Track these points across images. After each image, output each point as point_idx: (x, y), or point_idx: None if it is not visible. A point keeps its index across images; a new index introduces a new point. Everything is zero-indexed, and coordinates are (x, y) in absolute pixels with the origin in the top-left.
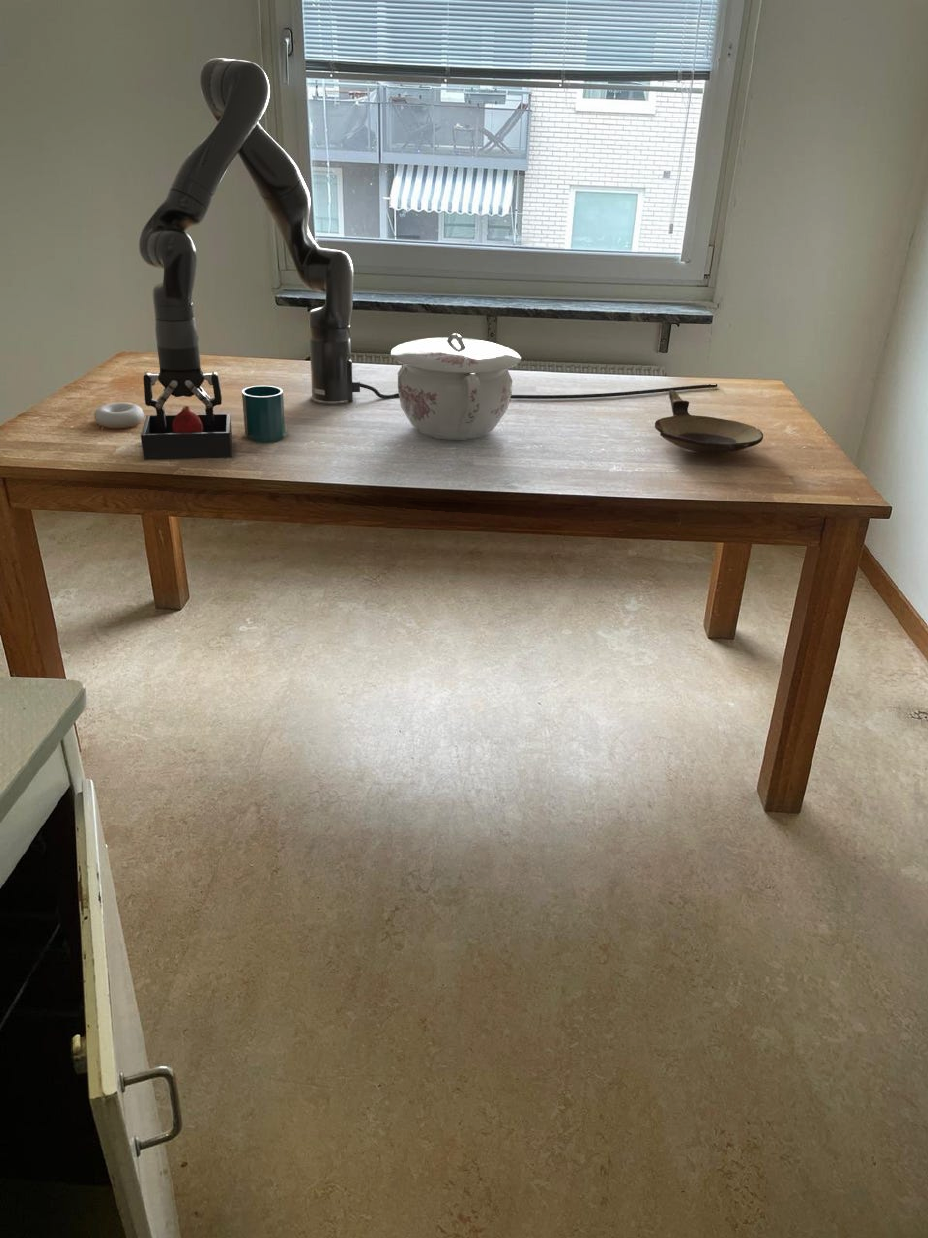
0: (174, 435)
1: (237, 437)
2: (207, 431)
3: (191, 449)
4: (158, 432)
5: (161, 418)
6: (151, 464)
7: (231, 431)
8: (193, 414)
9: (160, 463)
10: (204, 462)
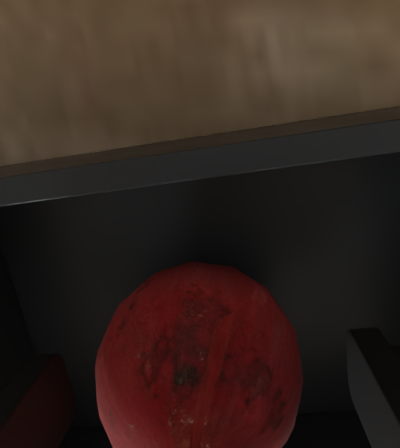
0: (246, 140)
1: None
2: None
3: (150, 146)
4: None
5: (398, 369)
6: (377, 31)
7: None
8: (122, 432)
9: (325, 53)
10: (84, 87)
